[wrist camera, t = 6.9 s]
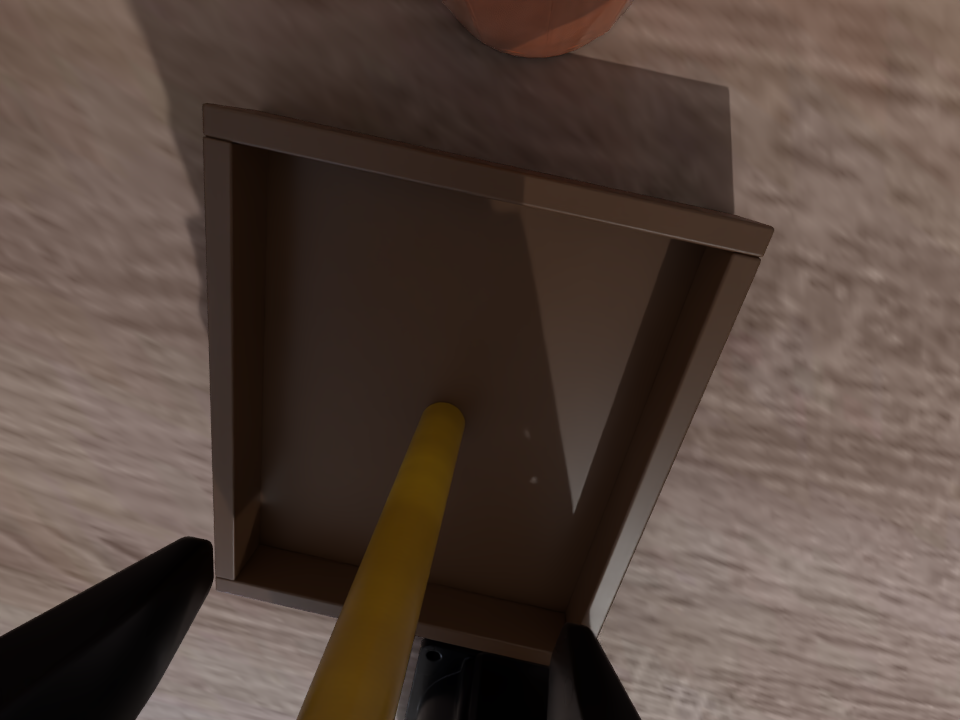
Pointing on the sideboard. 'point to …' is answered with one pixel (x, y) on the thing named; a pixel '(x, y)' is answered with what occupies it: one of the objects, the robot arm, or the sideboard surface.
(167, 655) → the robot arm
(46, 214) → the sideboard surface
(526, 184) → the tray
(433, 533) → the pencil
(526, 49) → the pen pot
